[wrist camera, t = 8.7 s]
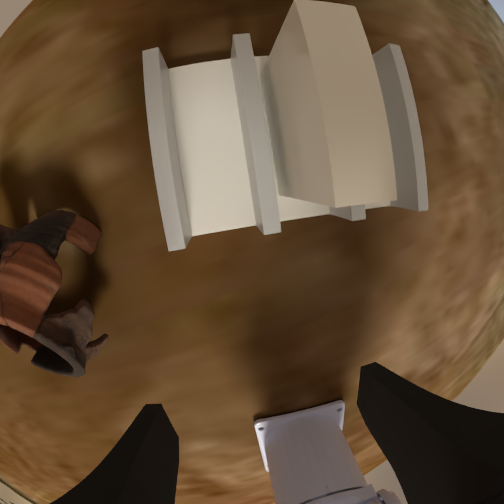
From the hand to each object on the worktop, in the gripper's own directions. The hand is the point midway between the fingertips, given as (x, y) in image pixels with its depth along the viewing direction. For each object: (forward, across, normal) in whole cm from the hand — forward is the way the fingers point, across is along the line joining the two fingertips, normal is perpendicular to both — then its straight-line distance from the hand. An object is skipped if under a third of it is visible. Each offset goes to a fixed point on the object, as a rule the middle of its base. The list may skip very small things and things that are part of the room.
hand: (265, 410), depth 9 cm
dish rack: (+9, -4, -10) cm, 14 cm away
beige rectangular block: (+8, -4, -10) cm, 14 cm away
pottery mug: (+10, +13, -4) cm, 17 cm away
